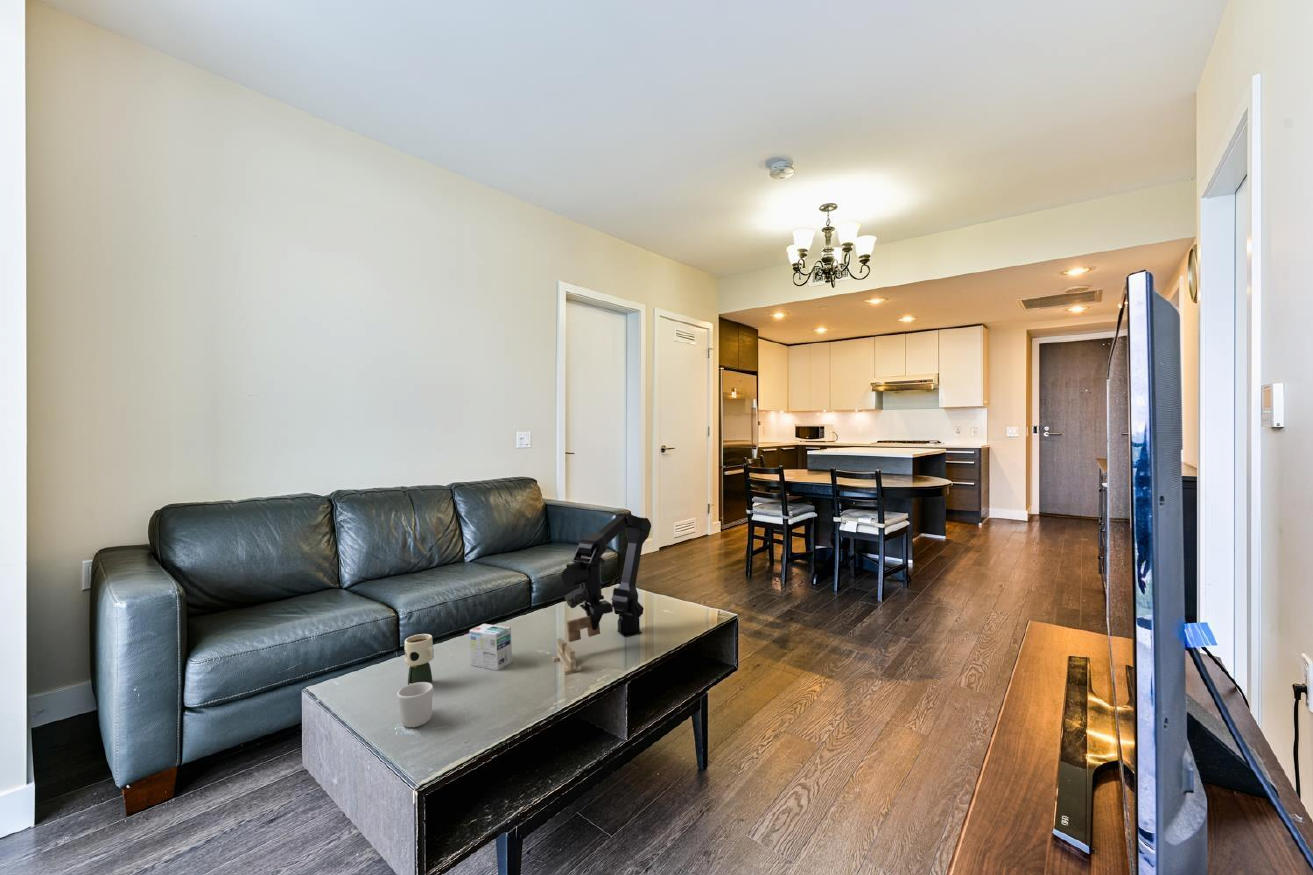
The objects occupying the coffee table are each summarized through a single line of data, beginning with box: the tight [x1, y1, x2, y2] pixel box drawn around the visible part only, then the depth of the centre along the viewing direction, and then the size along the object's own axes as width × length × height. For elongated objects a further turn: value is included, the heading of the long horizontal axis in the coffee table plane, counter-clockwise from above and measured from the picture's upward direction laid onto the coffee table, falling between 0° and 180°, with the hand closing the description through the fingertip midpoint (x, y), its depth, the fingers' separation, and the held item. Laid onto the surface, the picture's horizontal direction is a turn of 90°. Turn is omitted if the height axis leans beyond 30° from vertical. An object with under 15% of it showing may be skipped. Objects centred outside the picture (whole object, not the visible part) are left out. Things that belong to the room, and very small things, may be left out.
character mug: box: [404, 633, 435, 685], centre depth 152 cm, size 11×7×13 cm, turn 63°
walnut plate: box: [566, 615, 601, 643], centre depth 171 cm, size 10×1×6 cm, turn 118°
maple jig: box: [551, 637, 582, 675], centre depth 162 cm, size 5×12×6 cm, turn 28°
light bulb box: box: [469, 623, 513, 671], centre depth 165 cm, size 11×7×11 cm, turn 65°
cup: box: [396, 682, 434, 728], centre depth 133 cm, size 11×8×8 cm
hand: (593, 629), depth 173 cm, fingers closed on walnut plate, 1 cm apart
